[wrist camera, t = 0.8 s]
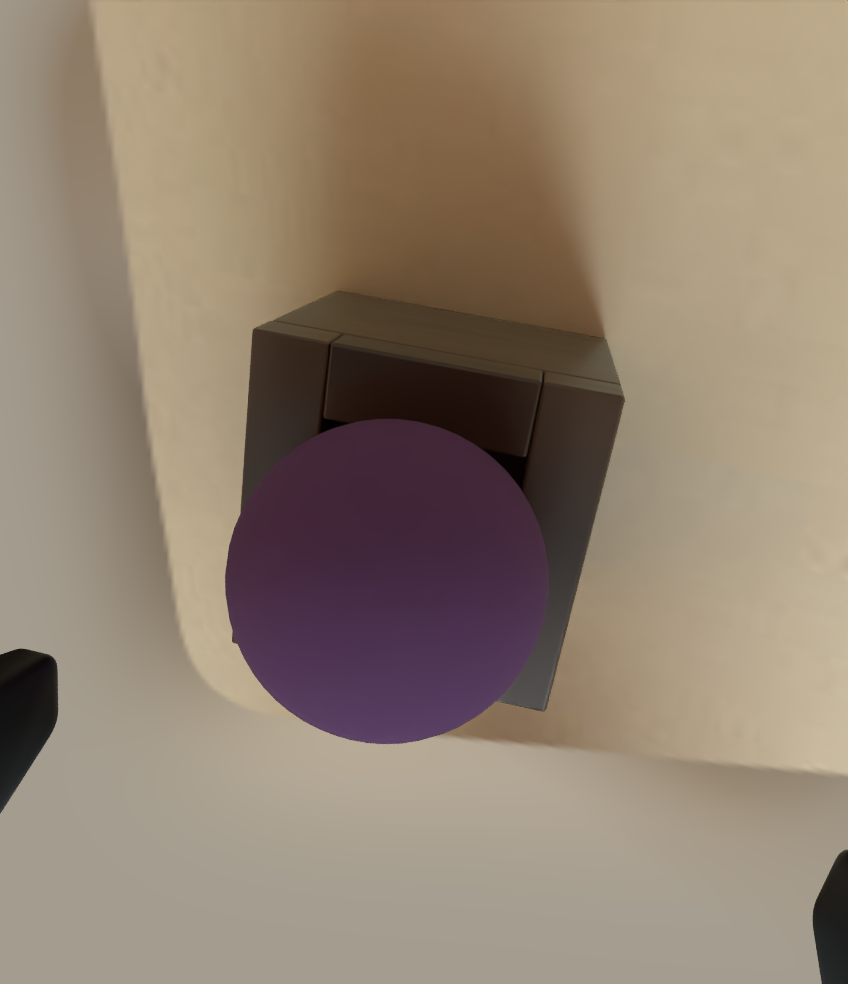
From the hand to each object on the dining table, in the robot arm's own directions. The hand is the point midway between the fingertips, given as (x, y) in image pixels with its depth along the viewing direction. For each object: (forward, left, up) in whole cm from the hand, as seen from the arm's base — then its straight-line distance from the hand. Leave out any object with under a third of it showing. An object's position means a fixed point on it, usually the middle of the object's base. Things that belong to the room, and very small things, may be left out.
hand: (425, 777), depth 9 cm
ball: (0, +1, -5) cm, 5 cm away
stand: (0, +1, -13) cm, 13 cm away
